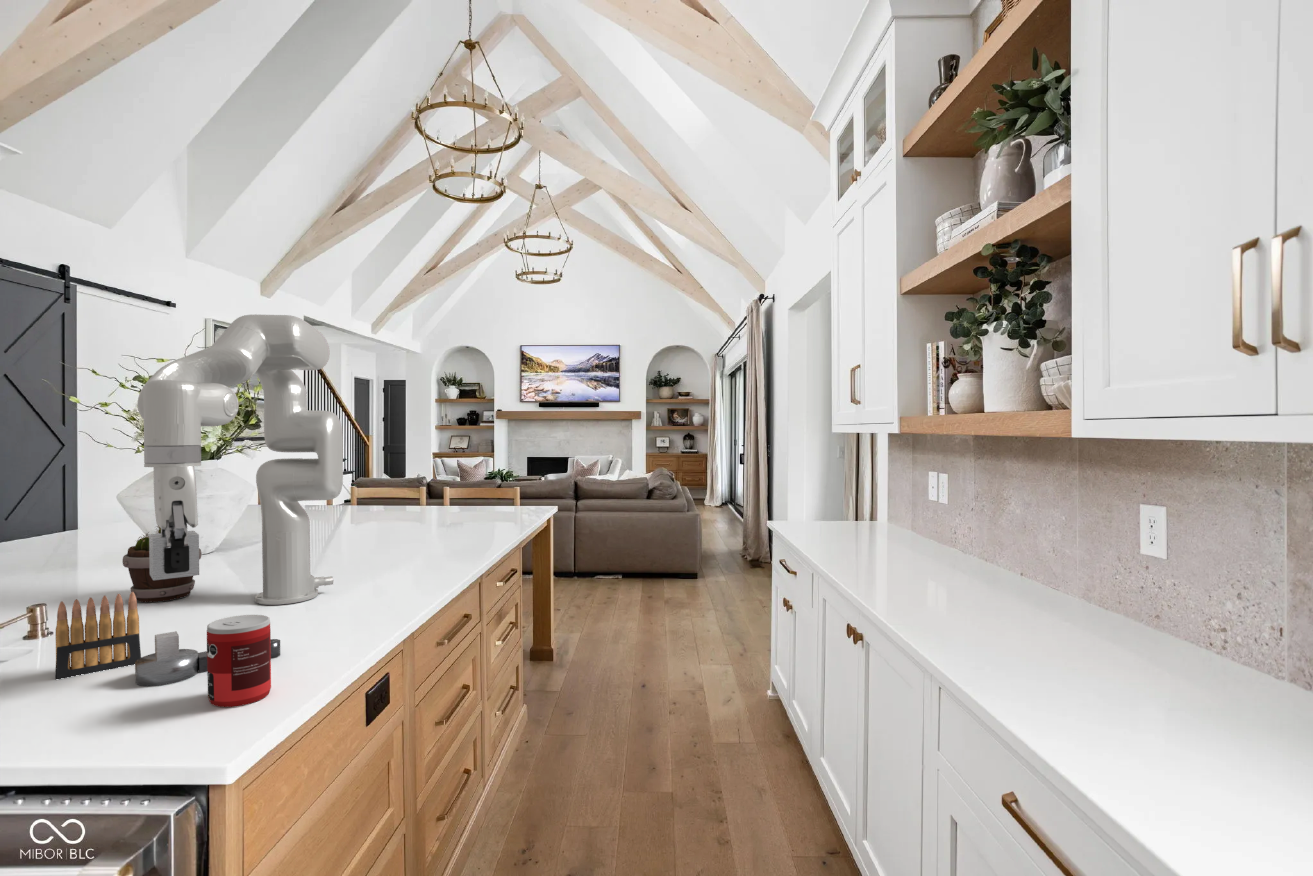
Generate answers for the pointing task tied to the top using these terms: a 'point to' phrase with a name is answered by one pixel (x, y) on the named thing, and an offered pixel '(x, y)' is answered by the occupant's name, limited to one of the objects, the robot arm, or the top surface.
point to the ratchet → (175, 661)
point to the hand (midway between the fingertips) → (174, 568)
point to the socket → (157, 556)
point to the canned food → (238, 660)
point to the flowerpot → (145, 584)
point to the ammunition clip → (96, 638)
